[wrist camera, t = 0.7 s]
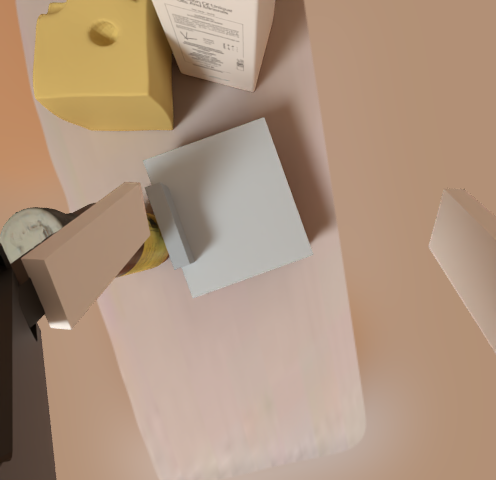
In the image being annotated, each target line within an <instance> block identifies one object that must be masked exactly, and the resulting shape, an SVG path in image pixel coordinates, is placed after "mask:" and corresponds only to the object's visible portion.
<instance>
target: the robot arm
mask: <svg viewBox="0 0 496 480" xmlns="http://www.w3.org/2000/svg"><path fill="white" fill-rule="evenodd" d="M149 236H150V230H149V225H148V220H147V215H146V210H145V205H144V200H143V195H142V190H141V185H140V183H133V182H124V183H123V184H122V185H120V186H119V187H118V188H116V189H115V190H114V191H112V192H111V193H109V194H108V195H107V196H105V197H104V198H103V199H101V200H100V201H99V202H97V203H96V204H94V205H93V206H92V207H90V208H89V209H88V210H86V211H85V212H83V213H82V214H81V215H79V216H78V217H77V218H75V219H74V220H73V221H71V222H70V223H68V224H67V225H66V226H64V227H63V228H62V229H60V230H59V231H57V232H55V233H53V234H51V235H50V236H48V237H47V238H45V239H44V240H43V241H41V243H39V244H37V245H36V246H34V248H33V249H30V250H29V251H27V252H26V253H25V254H23V255H22V256H21V257H19V258H18V259H16V260H15V261H14V262H12V263H11V264H10V262H9V260H8V257H7V255H6V253H5V251H4V249H3V246H2V245H1V243H0V480H56V472H55V462H54V453H53V443H52V434H51V425H50V415H49V406H48V397H47V387H46V377H45V368H44V360H43V359H44V358H43V349H42V339H41V330H40V328H39V326H38V324H37V321H38V320H39V319H40V318H41V317H42V316H43V315H44V314H45V316H46V318H47V320H48V323H49V325H50V327H51V328H59V329H70V330H72V328H73V327H74V326H75V325H76V324H77V322H78V321H79V320H80V319H81V318H82V316H83V315H84V314H85V313H86V312H87V310H88V309H89V308H90V307H91V306H92V304H93V303H94V302H95V301H96V300H97V298H98V297H99V296H100V295H101V294H102V292H103V291H104V290H105V289H106V288H107V287H108V285H109V284H110V283H111V282H112V281H113V279H114V278H115V277H116V276H117V275H118V273H119V272H120V271H121V270H122V269H123V267H124V266H125V265H126V264H127V263H128V261H129V260H130V259H131V258H132V257H133V255H134V254H135V253H136V252H137V251H138V249H139V248H140V247H141V246H142V245H143V243H144V242H145V241H146V240H147V239H148V237H149ZM429 248H430V250H431V252H432V253H433V255H434V257H435V258H436V260H437V261H438V263H439V264H440V266H441V267H442V269H443V271H444V272H445V274H446V276H447V277H448V279H449V280H450V282H451V283H452V285H453V287H454V288H455V290H456V292H457V293H458V295H459V296H460V298H461V299H462V301H463V303H464V304H465V306H466V307H467V309H468V310H469V312H470V314H471V315H472V317H473V318H474V320H475V322H476V323H477V325H478V327H479V328H480V330H481V331H482V333H483V335H484V336H485V338H486V339H487V341H488V342H489V344H490V346H491V347H492V349H493V350H494V352H495V353H496V216H495V215H494V214H492V213H491V212H490V211H489V210H488V209H487V208H486V207H484V206H483V205H482V204H481V203H480V202H479V201H478V200H476V199H475V198H474V197H473V196H472V195H470V194H469V193H468V192H467V191H466V190H465V189H444V191H443V194H442V198H441V202H440V206H439V209H438V213H437V217H436V221H435V224H434V228H433V232H432V236H431V240H430V243H429Z"/></svg>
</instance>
